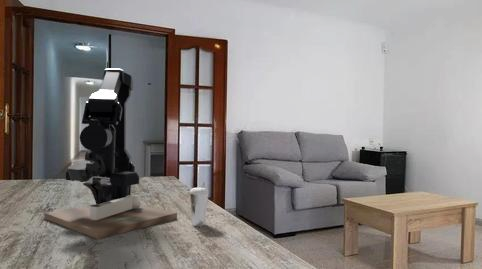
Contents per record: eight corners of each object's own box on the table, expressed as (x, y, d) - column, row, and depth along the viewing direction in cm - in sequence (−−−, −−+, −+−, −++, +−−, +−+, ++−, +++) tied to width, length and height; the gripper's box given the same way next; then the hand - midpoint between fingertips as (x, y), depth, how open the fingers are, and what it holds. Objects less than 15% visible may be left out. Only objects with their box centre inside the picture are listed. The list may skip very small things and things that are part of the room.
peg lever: (131, 205, 95) (131, 193, 95) (142, 206, 94) (142, 194, 94) (87, 218, 80) (87, 205, 80) (99, 220, 79) (99, 206, 79)
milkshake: (212, 222, 86) (212, 182, 86) (202, 228, 81) (203, 185, 81) (195, 220, 88) (196, 181, 88) (185, 226, 83) (186, 184, 83)
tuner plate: (121, 204, 105) (121, 199, 105) (177, 218, 89) (177, 212, 89) (44, 218, 87) (44, 212, 87) (97, 239, 72) (97, 231, 72)
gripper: (46, 147, 81) (44, 213, 81) (107, 151, 74) (105, 224, 74) (84, 145, 91) (83, 204, 92) (141, 149, 84) (139, 213, 84)
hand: (101, 211), depth 85 cm, fingers closed
